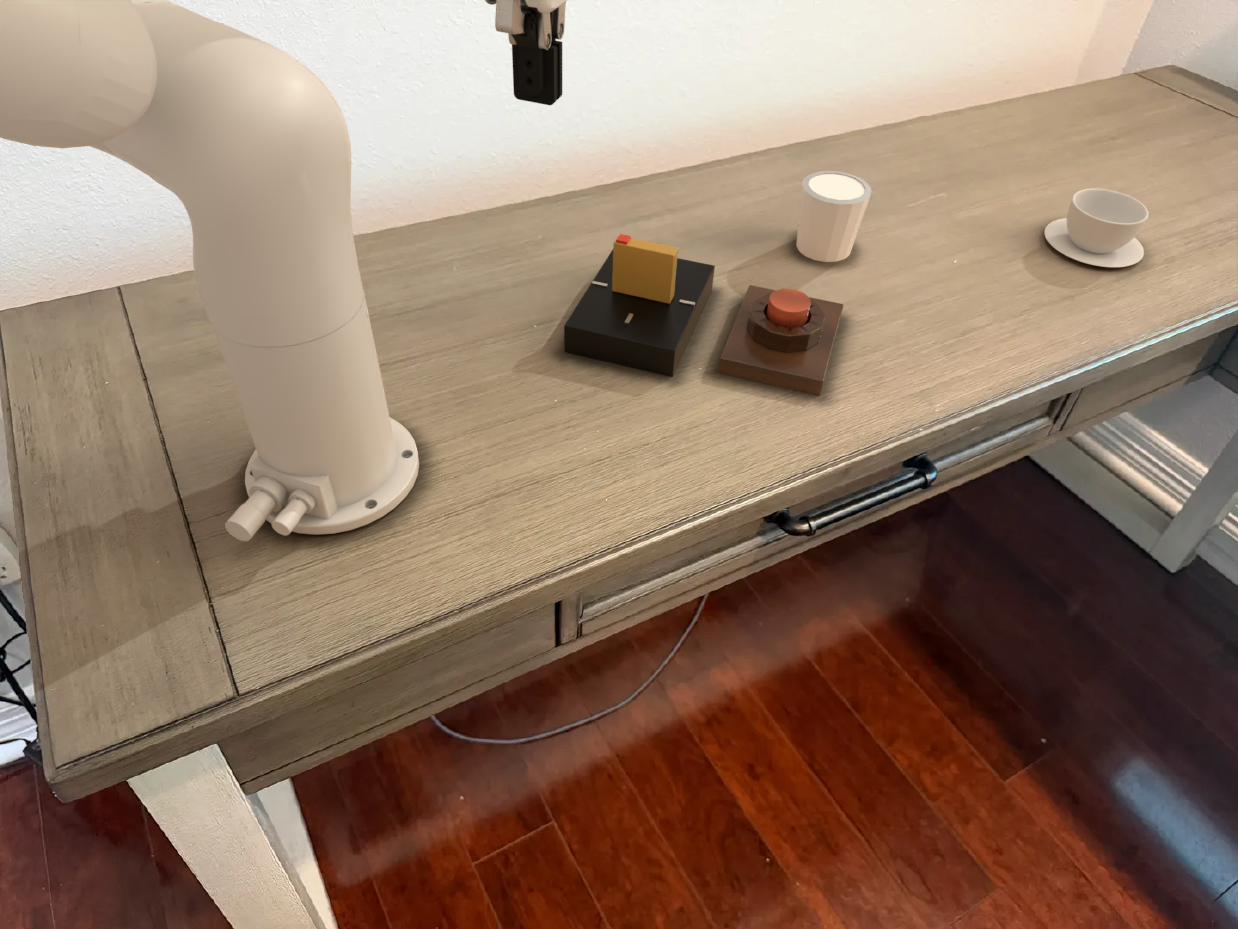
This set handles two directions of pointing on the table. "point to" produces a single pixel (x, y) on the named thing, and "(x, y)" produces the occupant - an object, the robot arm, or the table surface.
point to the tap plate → (639, 320)
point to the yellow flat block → (644, 269)
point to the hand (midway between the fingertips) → (538, 97)
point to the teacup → (1100, 228)
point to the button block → (780, 344)
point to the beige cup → (830, 214)
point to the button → (788, 308)
